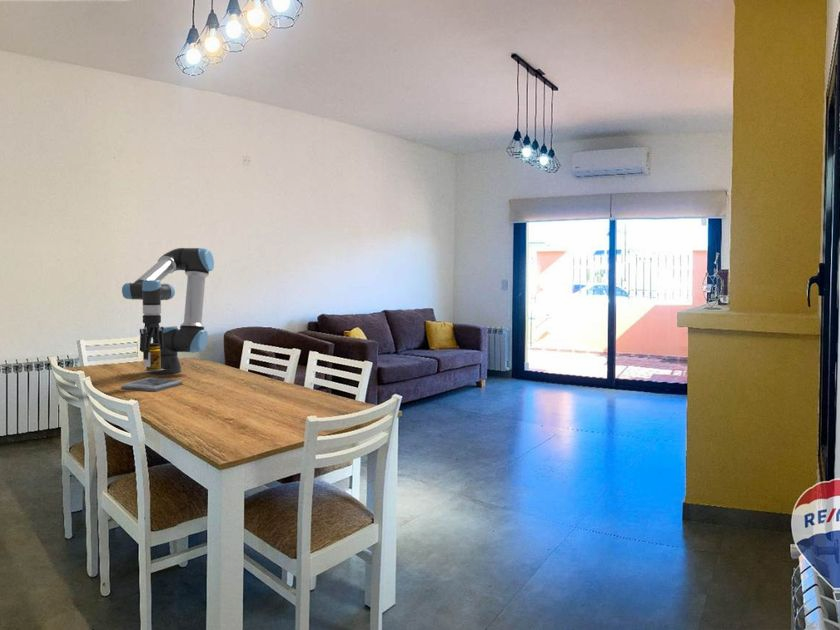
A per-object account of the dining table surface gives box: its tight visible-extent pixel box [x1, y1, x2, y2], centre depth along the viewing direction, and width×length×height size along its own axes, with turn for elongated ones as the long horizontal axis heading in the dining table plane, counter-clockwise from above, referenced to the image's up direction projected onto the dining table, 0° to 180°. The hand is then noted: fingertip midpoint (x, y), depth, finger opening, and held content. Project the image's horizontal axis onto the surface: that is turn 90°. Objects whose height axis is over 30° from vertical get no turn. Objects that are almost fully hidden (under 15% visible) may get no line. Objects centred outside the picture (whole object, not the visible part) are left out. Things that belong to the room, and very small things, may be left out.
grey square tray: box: [120, 377, 184, 393], centre depth 275 cm, size 18×18×2 cm
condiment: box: [141, 342, 165, 372], centre depth 275 cm, size 7×8×12 cm
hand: (152, 365), depth 274 cm, fingers closed on condiment, 6 cm apart
